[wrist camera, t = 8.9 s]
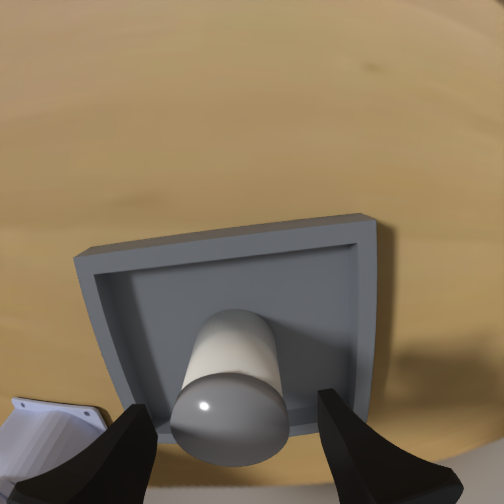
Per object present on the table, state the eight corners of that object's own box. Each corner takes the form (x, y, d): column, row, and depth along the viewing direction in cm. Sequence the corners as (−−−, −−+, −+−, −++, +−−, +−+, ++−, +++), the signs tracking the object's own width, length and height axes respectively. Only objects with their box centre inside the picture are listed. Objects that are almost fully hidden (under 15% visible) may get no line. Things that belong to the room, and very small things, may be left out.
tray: (146, 421, 20) (139, 442, 18) (91, 247, 17) (73, 257, 15) (357, 402, 20) (366, 422, 18) (360, 213, 17) (375, 219, 14)
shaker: (205, 380, 18) (189, 468, 12) (186, 313, 17) (153, 393, 10) (281, 370, 18) (294, 459, 11) (270, 300, 17) (282, 380, 10)
